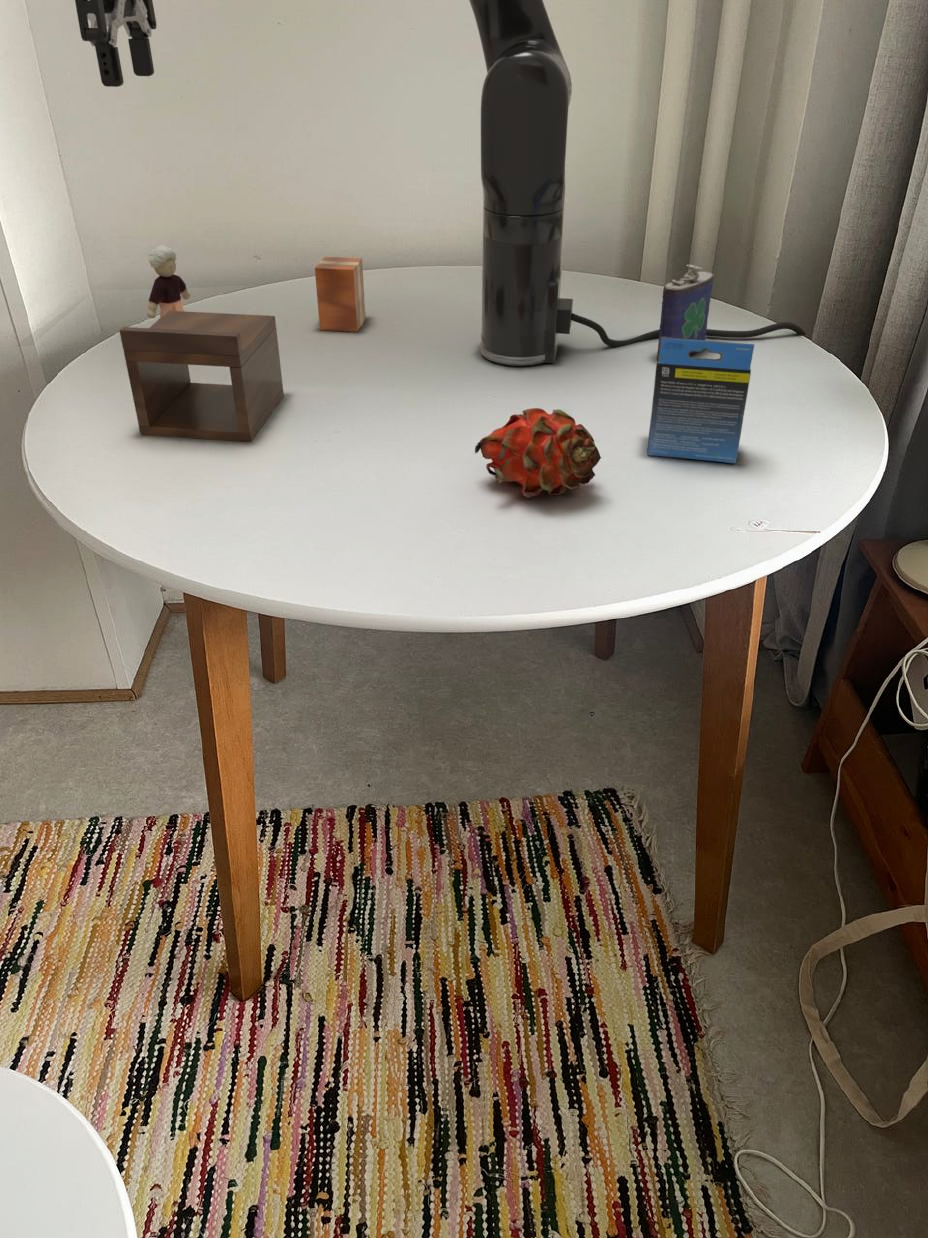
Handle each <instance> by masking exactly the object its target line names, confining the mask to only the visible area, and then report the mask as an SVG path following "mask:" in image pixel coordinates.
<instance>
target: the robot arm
mask: <svg viewBox="0 0 928 1238" xmlns="http://www.w3.org/2000/svg"><path fill="white" fill-rule="evenodd" d="M468 1H469V5H470V7H471V11H472V13H473V16H474V20H475V23H476V27H477V32H478V35H479V39H480V45H481V47H482V53H483V58H484V63H485V69H486V76H485V78H484V81H483V84H482V88H481V97H480V180H481V187H482V261H481V262H482V268H481V269H482V270H481V271H482V272H481V273H482V274H481V275H482V277H481V335H480V338H481V339H480V340H481V341H480V354H481V355H482V357H484V358H485V359H486V360H488V361H491V362H494V363H496V364H501V365H507V366H517V367H518V366H519V367H520V366H521V367H522V366H523V367H525V366H535V365H539V364H545V363H549V364H553V363H555V360H556V356H557V353H558V339H559V334H560V335H561V334H562V335H570V333H571V327H572V322H575V323H578V324H581V325H583V326H585V327H588V328H591V329H592V330H594V332H596V333H597V334H598V335H599V338H600V340H601V341H602V342H603V344H605V345H606V346H608V347H611V348H618V347H625V346H629V345H634V344H637V343H641V342H645V341H649V340H652V339H654V338H657V337H658V338H659V329H655V330H652V331H649V332H646V333H644V334H641V335H638V336H635V337H633V338H629V339H623V340H618V339H612V338H610V337H609V336H608V334H607V332H606V330H605V328H604V327H603V326H602V325H600V324H599V323H597V322H596V321H594V320H591V319H589V318H586V317H583V316H581V315H578V314H576V313H573V306H574V305H573V304H574V299H573V298H563V297H561V289H562V288H561V287H562V286H561V285H562V270H561V269H562V267H561V265H562V249H563V232H564V231H563V229H564V214H565V213H564V212H565V197H566V157H567V156H566V155H567V140H568V124H569V123H568V119H569V108H570V107H569V106H570V104H571V98H572V87H573V85H572V78H571V74H570V73H571V72H570V70H569V67H568V65H567V62H566V60H565V58H564V55H563V53H562V50H561V48H560V47H561V46H560V44H559V42H558V39H557V37H556V34H555V31H554V29H553V26H552V23H551V19H550V17H549V14H548V11H547V9H546V5H545V3H544V0H468ZM74 2H75V8H76V14H77V15H76V16H77V21H78V26H79V32H80V37H81V39H82V41H83V42H90V45H91V46H92V47H94V50H95V53H96V60H97V65H98V71H99V74H100V80H101V83H102V85H103V86H104V87H108V88H109V87H111V88H112V87H113V88H117V87H121V86H123V85H124V82H125V81H124V76H123V70H122V65H121V58H120V53H119V47H118V46H117V43H118V32H119V28H121V27H122V26H123V28H124V30H125V32H126V34H127V36H128V37H129V38H128V39H127V42H128V47H129V52H130V53H129V54H130V59H131V65H132V70H133V73H134V75H135V76H137V77H151V76H153V75H154V74H155V68H154V62H153V55H152V48H151V43H150V38H151V37H152V30H156V29H157V18H156V13H155V7H154V3H153V0H74ZM89 22H90V23H89ZM89 24H90V25H89ZM779 330H790V331H793V332H794V333H795V334H797V335H798V336H806V335H807V334H806V332H805V330H804V329H803V328H802V327H801V326H799V325H798V324H797V323H794V322H789V321H788V322H787V321H782V322H775V323H773V324H770V325H767V326H763V327H760V328H756V329H752V330H751V329H750V330H726V329H725V330H724V329H711V328H707V329H706V336H705V337H715V338H730V339H747V338H756V337H758V336H762V335H766V334H769V333H772V332H775V331H779Z"/></svg>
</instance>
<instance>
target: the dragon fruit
mask: <svg viewBox="0 0 928 1238" xmlns="http://www.w3.org/2000/svg"><path fill="white" fill-rule="evenodd" d="M521 412H522V413H519V414H517V413H515V414H512V415H510V416H509V419H508V421H507V422H506V423H505V424H504V425H502V427H498V428H496V429H495V430H493V431H492V432H491V433H490V434H488V435H486V436H484V437H482V438H481V439H480V440H479V441H478V442H477V443H476V445H475V447H474V451H473V455H475V454H477V453H479V452H481V455H482V458H483V459H484V460H491V462H488V463H487V464H486V466H485V468H486V471H487V472H488V474H490V475H491V476H493V477H494V478H495V480H497V481H496V482H497V483H498V484H500V485H501V483H503V482H508V483H509V482H515V483H516V484H517V485H519V486H522V495H523V496H524V497H525V498H528V499H531V498H533V497H535V496H539V495H540V494H541V492H543V491H547V493H548V495H549V496H556V495H557V496H559V495H561V494H564V493H565V492H566V491H567V489H570V490H575V489H578V488H579V487H580V485H586V484H589V483H590V482H591V480H592V479H594V477H595V476H596V473H595V472H594V470H593V469H594V468H595V467H596V466H597V465H598V463H599V462H600V460H601V459H602V457H601V453H600V451H599V448H598V447H597V446H596V443H595V439H594V437H593V436H592V434H591V433H590V432H589V430H588V429H587V428H586V427H585V426H584V425H583V424H581V423H578V424H576V420H575V418H574V417H572V415H570V414H568V413H567V412H566V411H564V410H562V409H560V408H559V409H553V410H552V413H548V412H547V411H546V410H545V409H542V408H539V407H533V408H526V409H524V410H522V411H521ZM491 468H492V469H493V470H492V469H491Z"/></svg>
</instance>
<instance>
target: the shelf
mask: <svg viewBox="0 0 928 1238" xmlns="http://www.w3.org/2000/svg"><path fill="white" fill-rule="evenodd" d="M276 323H277V321H276V316H275V315H264V314H262V315H261V314H247V313H246V314H243V313H225V312H224V313H223V312H222V313H221V312H202V311H185V310H184V311H168V312H167V313H166V314H165V315H163V316H162V317H161V318H160V317H159V318H158V320H156V321H155V322H154V323H153V324H151V326H149V327H134V326H131V327H130V326H123V327H121V328H120V329H119V330H118V331H119V336H120V342H121V345H122V350H123V355H124V359H125V360H124V361H125V365H126V370H127V376H128V379H129V384H130V385H129V386H130V389H131V394H132V400H133V404H134V409H135V414H136V418H137V424H138V429H139V433H140V435H142V436H152V437H153V436H154V437H167V438H168V437H170V438H182V439H183V438H185V439H199V440H200V439H201V440H216V441H217V440H218V441H231V442H244V443H245V442H248V443H251V442H252V441H253V439H255V437H256V436H257V434H258V433H259V432H260V430H261V429H262V427H263V426H264V424H265V423H266V422H267V420H268V419H269V417H270V416H271V415H272V414H273V412H274V411H275V409H276V408H277V406H278V405H279V404H280V402H281V401H282V399H283V398H284V397H285V394H284V386H283V385H284V384H283V376H282V366H281V358H280V349H279V340H278V339H279V338H278V332H277V330H278V329H277V324H276ZM191 365H192V366H204V367H205V366H206V367H224V368H229V373H230V381H231V384H222V383H221V384H220V383H218V384H217V383H205V382H204V383H203V382H192V381H191V376H190V375H191V373H190V369H189V366H191Z"/></svg>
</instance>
